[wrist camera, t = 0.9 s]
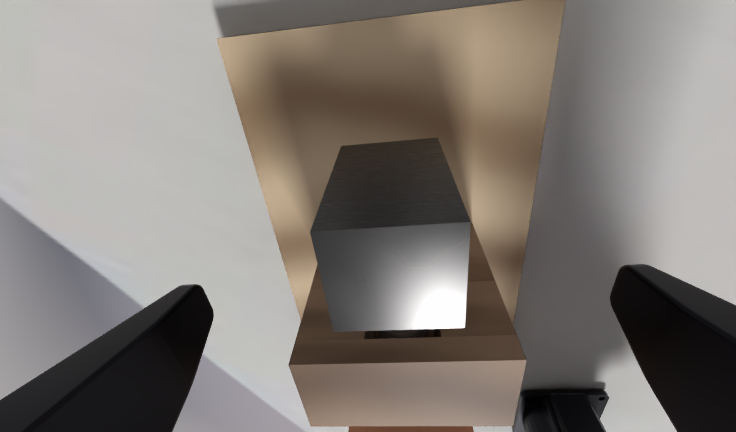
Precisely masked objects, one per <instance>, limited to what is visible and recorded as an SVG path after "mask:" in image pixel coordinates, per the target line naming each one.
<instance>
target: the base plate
mask: <svg viewBox="0 0 736 432" xmlns="http://www.w3.org/2000/svg"><path fill="white" fill-rule="evenodd" d="M564 6H565V0H520V1H512V2H504V3H496V4H488V5H480V6H472V7H464V8H456V9H448V10H440V11H432V12H424V13H417V14H409V15H401V16H393V17H385V18H377V19H369V20H361V21H353V22H345V23H337V24H329V25H321V26H313V27H305V28H297V29H289V30H281V31H273V32H265V33H257V34H249V35H241V36H233V37H225V38H219V39H217V42H218V45H219V49H220V52H221V55H222V59H223V62H224V65H225V69H226V72H227V75H228V79H229V82H230V85H231V89H232V92H233V95H234V99H235V102H236V105H237V109H238V112H239V115H240V119H241V122H242V125H243V129H244V132H245V135H246V139H247V142H248V145H249V149H250V152H251V155H252V159H253V162H254V165H255V169H256V172H257V175H258V179H259V182H260V185H261V189H262V192H263V195H264V199H265V202H266V205H267V209H268V212H269V215H270V219H271V222H272V225H273V229H274V232H275V235H276V239H277V242H278V245H279V249H280V252H281V255H282V259H283V262H284V265H285V269H286V272H287V275H288V279H289V282H290V285H291V289H292V292H293V295H294V299H295V302H296V305H297V309H298V312H299V315H300V319H301V320H302V316H303V313H304V309H305V306H306V302H307V299H308V295H309V292H310V289H311V285H312V282H313V278H314V275H315V271H316V268H317V260H316V256H315V251H314V247H313V243H312V239H311V234H310V230H311V228H312V225H313V222H314V219H315V217H316V214H317V211H318V208H319V206H320V203H321V200H322V197H323V194H324V192H325V189H326V186H327V183H328V181H329V178H330V175H331V172H332V170H333V167H334V164H335V161H336V159H337V156H338V153H339V150H340V148H341V146H345V145H357V144H368V143H380V142H391V141H402V140H414V139H425V138H437V137H438V139H439V142H440V145H441V147H442V150H443V152H444V155H445V157H446V160H447V162H448V165H449V168H450V170H451V173H452V175H453V178H454V180H455V183H456V185H457V188H458V191H459V193H460V196H461V198H462V201H463V203H464V206H465V208H466V211H467V214H468V216H469V219H470V221H471V223H473V226H474V229H475V231H476V234H477V236H478V239H479V241H480V244H481V246H482V249H483V251H484V254H485V256H486V259H487V261H488V264H489V266H490V269H491V271H492V274H493V276H494V279H495V281H496V284H497V286H498V289H499V292H500V294H501V297H502V299H503V302H504V304H505V307H506V309H507V312H508V314H509V317H510V319H511V322H512V324H513V323H514V317H515V310H516V304H517V298H518V292H519V286H520V279H521V273H522V267H523V261H524V254H525V248H526V242H527V236H528V230H529V223H530V217H531V211H532V205H533V198H534V192H535V186H536V180H537V174H538V167H539V161H540V155H541V149H542V142H543V136H544V130H545V124H546V118H547V111H548V105H549V99H550V93H551V87H552V80H553V74H554V68H555V62H556V55H557V49H558V43H559V37H560V31H561V24H562V18H563V12H564Z"/></svg>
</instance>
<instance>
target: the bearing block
mask: <svg viewBox="0 0 736 432" xmlns="http://www.w3.org/2000/svg"><path fill="white" fill-rule="evenodd" d="M526 361H527V360H526V357H525V355H524V352H523V350H522V347H521V344H520V342H519V339H518V337H517V334H516V332H515V329H514V327H513V324H512V322H511V319H510V317H509V314H508V312H507V309H506V307H505V304H504V302H503V299H502V297H501V294H500V292H499V289H498V286H497V284H496V281H495V279H494V276H493V274H492V271H491V269H490V266H489V264H488V261H487V259H486V256H485V254H484V251H483V249H482V246H481V244H480V241H479V239H478V236H477V234H476V231H475V229H474V226H473V223H471V227H470V245H469V263H468V281H467V299H466V317H465V328H447V329H427V337H426V338H390V339H380V336H379V331H349V332H333V328H332V323H331V319H330V315H329V311H328V306H327V302H326V298H325V294H324V289H323V285H322V281H321V277H320V272H319V268H318V264H317V268H316V271H315V275H314V278H313V282H312V285H311V289H310V292H309V295H308V299H307V302H306V306H305V309H304V313H303V316H302V320H301V323H300V327H299V330H298V334H297V337H296V341H295V344H294V348H293V351H292V355H291V358H290V362H289V367H290V370H291V373H292V376H293V378H294V381H295V384H296V387H297V390H298V392H299V395H300V398H301V401H302V403H303V406H304V409H305V412H306V414H307V417H308V420H309V423H310V425H311V426H513V424H514V419H515V414H516V409H517V405H518V400H519V395H520V390H521V385H522V380H523V375H524V371H525V366H526Z"/></svg>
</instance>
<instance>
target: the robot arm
mask: <svg viewBox="0 0 736 432" xmlns="http://www.w3.org/2000/svg"><path fill="white" fill-rule="evenodd" d="M610 302H611V306H612V308H613V311H614V313H615V315H616V317H617V319H618V321H619V323H620V325H621V328H622V330H623V332H624V334H625V336H626V338H627V340H628V343H629V345H630V347H631V349H632V351H633V353H634V355H635V357H636V360H637V362H638V364H639V366H640V368H641V370H642V372H643V374H644V376H645V378H646V380H647V381H648V383H649V385H650V387H651V388H652V390H653V392H654V394H655V395H656V397H657V399H658V400H659V402H660V404H661V405H662V407H663V409H664V410H665V412H666V414H667V415H668V417H669V419H670V420H671V422H672V424H673V425H674V427H675V429H676V430H677V432H736V305H734V304H732V303H730V302H727V301H725V300H723V299H721V298H719V297H717V296H714V295H712V294H710V293H708V292H706V291H704V290H701V289H699V288H697V287H695V286H693V285H691V284H688V283H686V282H684V281H682V280H680V279H678V278H675V277H673V276H671V275H669V274H667V273H665V272H662V271H660V270H658V269H656V268H654V267H652V266H649V265H646V264H635V265H624V266H622V267H621V268H620V269H619V271H618V274H617V277H616V280H615V283H614V286H613V289H612V291H611V295H610ZM212 322H213V309H212V307H211V304H210V302H209V300H208V298H207V296H206V294H205V292H204V290H203V288H202V287H201V286H200V285H197V284H193V285H181V286H179V287H177V288H176V289H174V290H172V291H171V292H169V293H168V294H166V295H165V296H163V297H161V298H160V299H158V300H157V301H155V302H154V303H152V304H150V305H149V306H147V307H146V308H144V309H143V310H141V311H139V312H138V313H136V314H135V315H133V316H132V317H130V318H129V319H127V320H125V321H124V322H122V323H121V324H119V325H117V326H116V327H114V328H113V329H111V330H110V331H108V332H107V333H105V334H103V335H102V336H100V337H99V338H97V339H96V340H94V341H92V342H91V343H89V344H88V345H86V346H85V347H83V348H81V349H80V350H78V351H77V352H75V353H74V354H72V355H70V356H69V357H67V358H66V359H64V360H62V361H61V362H60V363H58V364H56V365H55V366H53V367H52V368H50V369H48V370H47V371H45V372H44V373H42V374H40V375H39V376H37V377H36V378H34V379H33V380H31V381H30V382H28V383H26V384H25V385H23V386H22V387H20V388H18V389H17V390H16V391H14V392H12V393H11V394H9V395H8V396H6V397H4V398H3V399H1V400H0V432H172V431H173V429H174V426H175V424H176V422H177V419H178V417H179V415H180V412H181V410H182V408H183V405H184V403H185V401H186V398H187V396H188V394H189V391H190V389H191V386H192V383H193V381H194V378H195V375H196V372H197V369H198V366H199V363H200V359H201V356H202V353H203V350H204V347H205V344H206V341H207V337H208V334H209V331H210V328H211V325H212ZM608 399H609V397H608V395H607V393H606V392H605V391H604V390H555V391H524V392H522V393H521V394H520V397H519V402H518V407H517V411H516V416H515V421H514V426H513V432H606V430H605V429H604V427H603V425H602V423H601V421H600V417H601V415H602V413H603V411H604V408H605V406H606V404H607V401H608Z"/></svg>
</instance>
